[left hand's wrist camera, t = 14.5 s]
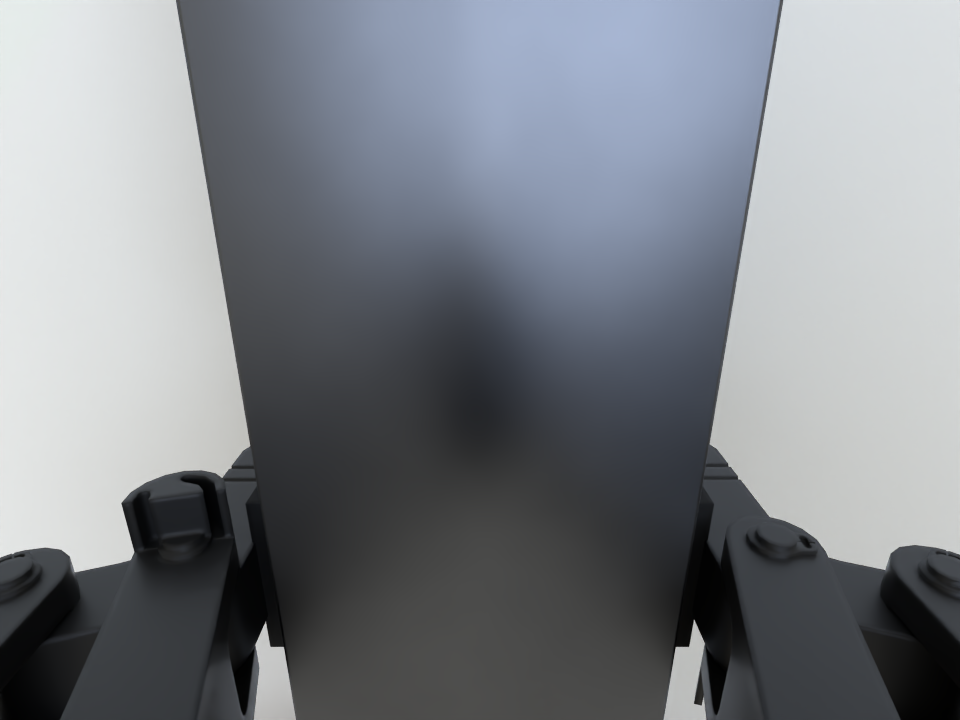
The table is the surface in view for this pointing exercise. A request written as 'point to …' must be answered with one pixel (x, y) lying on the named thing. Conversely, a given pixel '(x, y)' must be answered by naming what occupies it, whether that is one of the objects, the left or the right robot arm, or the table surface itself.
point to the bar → (479, 330)
